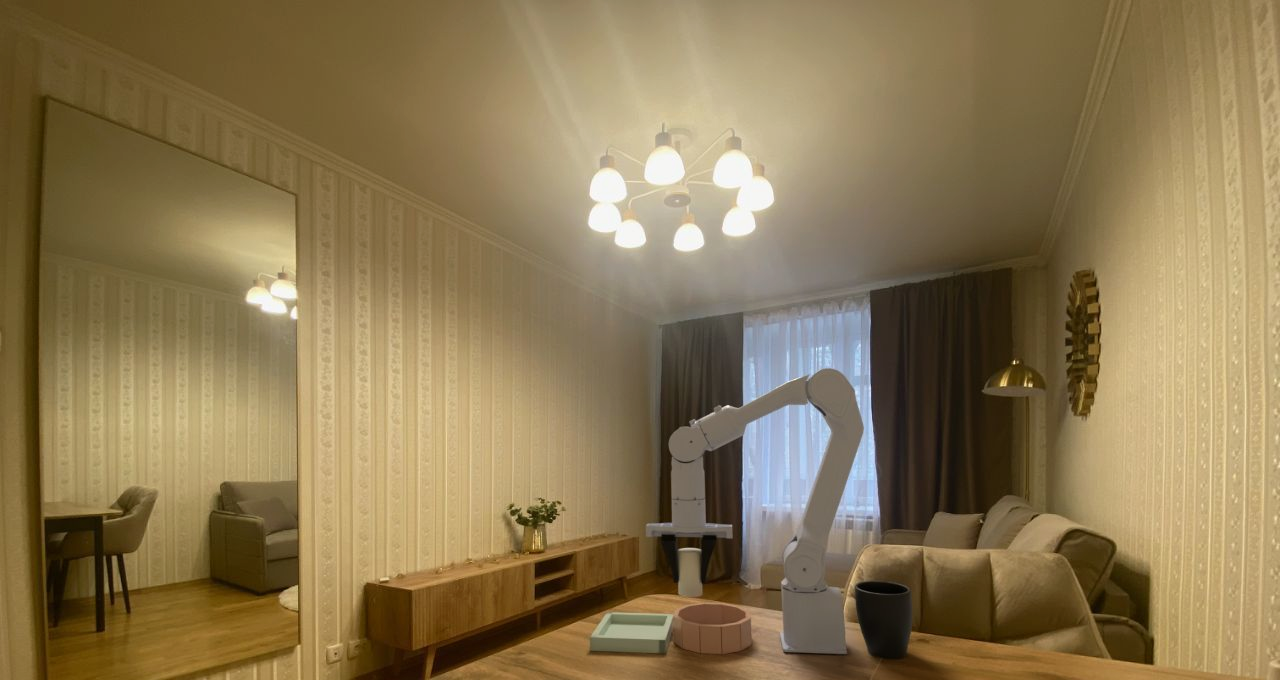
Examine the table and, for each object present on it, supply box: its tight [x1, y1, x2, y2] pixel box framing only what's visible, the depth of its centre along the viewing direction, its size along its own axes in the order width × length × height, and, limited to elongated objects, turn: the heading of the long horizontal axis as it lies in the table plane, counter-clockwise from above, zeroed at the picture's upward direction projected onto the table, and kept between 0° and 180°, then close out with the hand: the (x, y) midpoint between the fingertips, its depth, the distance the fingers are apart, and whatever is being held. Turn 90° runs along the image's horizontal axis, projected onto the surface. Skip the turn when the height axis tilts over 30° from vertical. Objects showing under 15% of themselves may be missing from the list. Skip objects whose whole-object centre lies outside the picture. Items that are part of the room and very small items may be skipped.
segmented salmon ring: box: [672, 602, 753, 655], centre depth 100 cm, size 13×13×4 cm
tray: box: [589, 611, 674, 654], centre depth 101 cm, size 12×13×2 cm
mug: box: [854, 579, 914, 660], centre depth 95 cm, size 8×12×10 cm
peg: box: [677, 547, 703, 598], centre depth 101 cm, size 4×4×7 cm
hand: (690, 581), depth 101 cm, fingers closed on peg, 4 cm apart
